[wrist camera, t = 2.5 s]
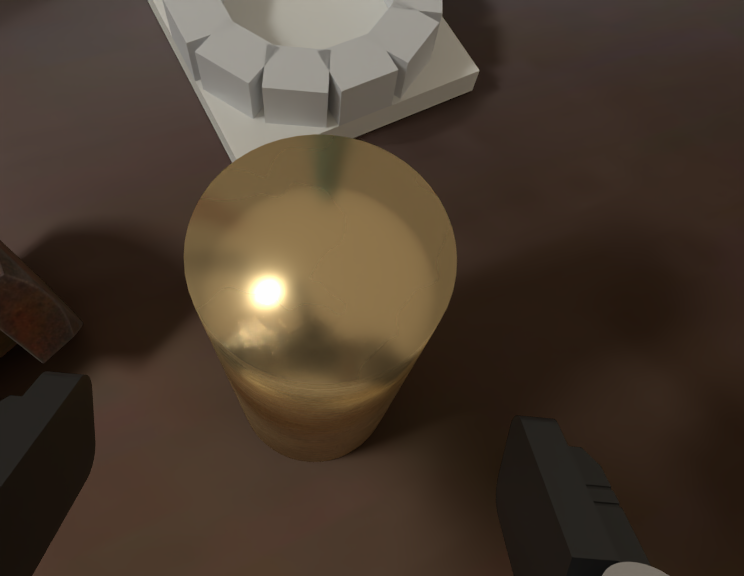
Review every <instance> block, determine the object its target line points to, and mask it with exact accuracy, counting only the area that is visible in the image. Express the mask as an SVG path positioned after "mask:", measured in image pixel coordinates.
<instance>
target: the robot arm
mask: <svg viewBox="0 0 744 576" xmlns="http://www.w3.org/2000/svg"><path fill="white" fill-rule="evenodd" d="M94 455H95V429H94V413H93V396H92V384H91V380H90V378H89V376H88V375H82V374H71V373H60V372H49V371H46V372H43V373H42V374H41V375H40V376H39V377H38V378H37V380H36V381H35V382H34V383H33V384H32V385H31V387H30V388H29V389H28V390H27V391H26V393H25V394H24V395H23V396H12V395H10V396H8V397H6V398H5V399H3V400H1V401H0V576H32V575H33V573H34V571H35V570H36V568H37V566H38V564H39V563H40V561H41V559H42V557H43V555H44V554H45V552H46V550H47V548H48V547H49V545H50V543H51V541H52V540H53V538H54V536H55V534H56V533H57V531H58V529H59V527H60V526H61V524H62V522H63V520H64V518H65V517H66V515H67V513H68V511H69V510H70V508H71V506H72V504H73V503H74V501H75V499H76V497H77V496H78V494H79V492H80V490H81V489H82V487H83V485H84V483H85V482H86V480H87V478H88V476H89V473H90V471H91V468H92V464H93V460H94ZM496 506H497V512H498V517H499V521H500V524H501V528H502V532H503V536H504V540H505V544H506V547H507V551H508V555H509V559H510V563H511V567H512V571H513V574H514V576H669V575H667V574H666V573H664V572H662V571H660V570H658V569H656V568H654V567H651V565H650V563H649V561H648V559H647V557H646V555H645V553H644V551H643V549H642V547H641V545H640V543H639V541H638V539H637V537H636V535H635V533H634V531H633V529H632V527H631V525H630V523H629V521H628V519H627V517H626V515H625V513H624V511H623V509H622V508H620V507H619V502H618V500H617V498H616V496H615V494H614V492H613V491H611V486H610V484H609V482H608V480H607V478H606V476H605V474H604V472H603V470H602V468H601V466H600V465H599V464H598V463H597V462H596V461H595V460H594V459H593V458H592V457H591V456H590V455H588V454H587V453H586V452H585V451H584V450H583V449H582V448H581V447H570V446H568V445H567V443H566V440H565V438H564V436H563V434H562V432H561V429H560V427H559V425H558V423H557V421H556V420H555V419H550V418H539V417H528V416H515V417H514V418H513V420H512V422H511V426H510V429H509V434H508V438H507V442H506V446H505V450H504V454H503V459H502V463H501V467H500V471H499V475H498V480H497V487H496Z"/></svg>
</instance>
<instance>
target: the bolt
mask: <svg viewBox="0 0 744 576" xmlns="http://www.w3.org/2000/svg"><path fill="white" fill-rule="evenodd" d="M82 324H83V322H82V321H81V320H80V319H79V318H78V316H77V315H76V314H75V313H74V312H73V311H72V310H71V309H70V308H69V307H68V306H67V305H66V304H65V303H64V302H63V301H62V300H61V299H60V298H59V297H58V296H57V295H56V294H55V293H54V292H53V291H52V290H51V289H50V288H49V287H48V285H47V284H46V283H45V282H44V281H43V280H42V279H40V278H39V277H38V276H37V275H36V274H35V273H34V272H33V271H32V270H31V269H30V268H29V267H28V266H27V265H26V264H25V263H24V262H23V261H22V260H21V259H20V258H18V257H17V256H16V255H15V254H14V253H13V252H12V251H11V250H10V249H9V248H8V247H7V246H6V245H5V244H4V243H3V242H2V241H1V240H0V358H1V357H2V356H3V355H5V354H6V353H7V352H8V351H9V350H11V349H12V348H13V347H14V346H15V345H17V344H19V345H20V346H21V347H23V348H24V349H25V350H26V351H28V352H29V353H30V354H31V355H33V356H34V357H35V358H36V359H38V360H39V361H40V362H41V363H45V362H46V361H47V360H48V359H49V358H51V357H52V356H53V355H54V354H55V353H56V352H57V351H58V350H60V349H61V348H62V347H63V346H64V345H65V344H66V343H67V342H69V341H70V340H71V339H72V338H73V337H74V336H75V335H76V334H77V332H78V331H79V330H80V329H81V326H82Z"/></svg>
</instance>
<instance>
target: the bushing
mask: <svg viewBox="0 0 744 576" xmlns="http://www.w3.org/2000/svg"><path fill="white" fill-rule="evenodd" d="M184 270H185V277H186V282H187V286H188V291H189V293H190V296H191V299H192V301H193V304H194V307H195V309H196V311H197V313H198V315H199V317H200V319H201V321H202V324H203V326H204V328H205V330H206V332H207V334H208V336H209V339H210V341H211V343H212V345H213V347H214V349H215V351H216V353H217V356H218V358H219V360H220V362H221V364H222V366H223V368H224V370H225V373H226V375H227V377H228V379H229V381H230V383H231V385H232V387H233V390H234V392H235V394H236V396H237V398H238V400H239V402H240V405H241V407H242V409H243V411H244V413H245V415H246V417H247V419H248V421H249V423H250V425H251V427H252V429H253V430H254V431H255V433H256V434H257V435H258V437H259V438H260V439H261V440H262V441H263V442H264V443H265V444H266V445H268V446H269V447H270V448H272V449H273V450H275V451H276V452H278V453H280V454H282V455H284V456H286V457H289V458H292V459H296V460H300V461H307V462H321V461H328V460H332V459H336V458H339V457H341V456H344V455H346V454H348V453H350V452H351V451H353V450H355V449H356V448H358V447H359V446H360V445H361V444H363V443H364V442H365V441H366V440H367V439H368V438H369V437H370V436H371V434H372V433H373V432H374V430H375V429H376V427H377V426H378V424H379V423H380V421H381V419H382V417H383V416H384V414H385V412H386V411H387V409H388V407H389V406H390V404H391V402H392V401H393V399H394V397H395V396H396V394H397V392H398V391H399V389H400V387H401V386H402V384H403V382H404V381H405V379H406V377H407V376H408V374H409V372H410V371H411V369H412V367H413V366H414V364H415V362H416V361H417V359H418V357H419V356H420V354H421V352H422V351H423V349H424V347H425V346H426V344H427V342H428V341H429V339H430V337H431V335H432V334H433V332H434V330H435V329H436V327H437V325H438V324H439V322H440V320H441V318H442V316H443V315H444V313H445V311H446V309H447V307H448V304H449V301H450V298H451V296H452V293H453V289H454V284H455V279H456V270H457V252H456V242H455V238H454V233H453V229H452V226H451V223H450V220H449V218H448V215H447V213H446V211H445V209H444V207H443V205H442V203H441V201H440V199H439V198H438V196H437V195H436V194H435V192H434V191H433V189H432V188H431V187H430V185H429V184H428V183H427V182H426V181H425V180H424V179H423V178H422V177H421V176H420V174H418V173H417V172H416V171H415V170H414V169H413V168H411V167H410V166H409V165H408V164H407V163H405V162H404V161H402V160H401V159H399V158H398V157H396V156H395V155H393V154H391V153H389V152H388V151H386V150H384V149H382V148H380V147H377V146H375V145H372V144H369V143H367V142H364V141H361V140H357V139H353V138H349V137H343V136H336V135H318V134H313V135H301V136H294V137H289V138H284V139H280V140H277V141H274V142H271V143H268V144H265V145H263V146H260V147H258V148H256V149H254V150H252V151H250V152H248V153H246V154H245V155H243V156H242V157H240V158H238V159H237V160H235V161H234V162H233V163H232V164H230V165H229V166H228V167H227V168H225V169H224V170H223V171H222V172H221V173H220V174H219V175H218V176H217V177H216V178H215V179H214V180H213V181H212V182H211V184H210V185H209V186H208V188H207V189H206V190H205V192H204V193H203V195H202V196H201V198H200V200H199V202H198V203H197V205H196V207H195V209H194V211H193V214H192V217H191V219H190V222H189V225H188V229H187V233H186V238H185V245H184Z"/></svg>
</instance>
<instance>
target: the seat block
mask: <svg viewBox="0 0 744 576" xmlns="http://www.w3.org/2000/svg"><path fill="white" fill-rule="evenodd" d="M147 1H148V3H149V4H150V6H151V8H152V10H153V12H154V14H155V16H156V18H157V20H158V22H159V24H160V26H161V27H162V29H163V31H164V33H165V35H166V37H167V39H168V41H169V43H170V45H171V47H172V49H173V50H174V52H175V54H176V56H177V58H178V60H179V62H180V64H181V66H182V68H183V70H184V71H185V73H186V75H187V77H188V79H189V81H190V83H191V85H192V87H193V89H194V91H195V93H196V94H197V96H198V98H199V100H200V102H201V104H202V106H203V108H204V110H205V112H206V114H207V116H208V117H209V119H210V121H211V123H212V125H213V127H214V129H215V131H216V133H217V135H218V137H219V138H220V140H221V142H222V144H223V146H224V148H225V150H226V152H227V154H228V156H229V158H230V160H231V161H232V163H233V162H234V161H235V160H237V159H238V158H240V157H242V156H243V155H245V154H246V153H248V152H250V151H252V150H254V149H256V148H258V147H260V146H263V145H265V144H268V143H271V142H274V141H277V140H280V139H284V138H289V137H294V136H301V135H313V134H318V135H336V136H343V137H349V138H355V137H357V136H360V135H362V134H365V133H367V132H370V131H372V130H375V129H377V128H380V127H382V126H385V125H387V124H390V123H392V122H395V121H397V120H400V119H402V118H405V117H407V116H410V115H412V114H415V113H417V112H420V111H422V110H425V109H427V108H430V107H432V106H435V105H437V104H440V103H442V102H444V101H447V100H449V99H452V98H454V97H457V96H459V95H462V94H464V93H467V92H469V91H472V90H473V87H474V84H475V82H476V79H477V76H478V74H479V69H478V68H477V66H476V65H475V63H474V62H473V60H472V59H471V57H470V56H469V54H468V53H467V52H466V50H465V49H464V47H463V46H462V44H461V43H460V41H459V40H458V38H457V37H456V36H455V34H454V33H453V31H452V30H451V28H450V27H449V25H448V24H447V22H446V21H445V20H444V18H443V17H442V0H147Z"/></svg>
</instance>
